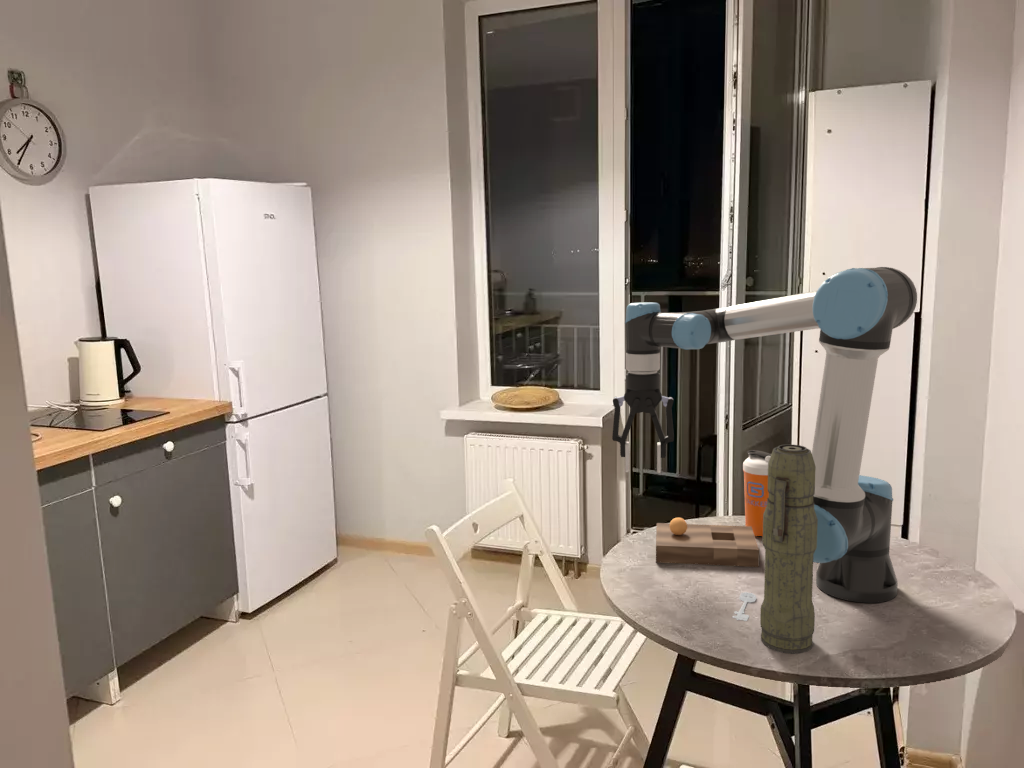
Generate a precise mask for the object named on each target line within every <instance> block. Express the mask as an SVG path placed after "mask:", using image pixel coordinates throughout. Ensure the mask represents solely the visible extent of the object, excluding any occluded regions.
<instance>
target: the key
mask: <svg viewBox="0 0 1024 768" xmlns="http://www.w3.org/2000/svg"><path fill="white" fill-rule="evenodd" d="M738 597H739V598H738V599H739V600H740V601H742V602H743V603H742V605H741V607H740V609H739V610H738V611H737V610H734V611H733V613H734V615H732V619H733V618H734V619H736V621H739V620H740V621H744V622H747V621H748V620H749V618H750V615H748V614H745V608H746V606H747V604H748V603H754V602H756V600H757V595H756V594H755V593H753V592H748V591H744V592H740V594H739V596H738ZM735 614H736V615H735Z"/></svg>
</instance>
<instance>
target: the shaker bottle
mask: <svg viewBox="0 0 1024 768" xmlns="http://www.w3.org/2000/svg"><path fill="white" fill-rule="evenodd" d="M746 453H747V454H748V457H747V458H746V459H745V460H744V461H743V463H742V471H743V481H744V482H743V483H744V486H743V487H744V488H743V489H744V491H743V493H744V517H745V519H744V520H745V521H744V522H745V524H744V526H752V529H753V533H754V536H755V537H757V536H762V537H761V538H763V514H764V511H765V509H766V506H767V498H768V497H769V492H768V463H769V459H770V457H771V454H772V453H769V452H766V451H762V450H754V449H753V450H751V449H750V450H747V451H746Z"/></svg>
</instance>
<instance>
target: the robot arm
mask: <svg viewBox="0 0 1024 768" xmlns="http://www.w3.org/2000/svg"><path fill="white" fill-rule="evenodd" d="M917 303H918V292H917V287H916V286H915V283H914V281H913V280H912V279H911V278H910V277H909V276H908V275H907V274H906V273H905V272H903V271H901V270H900V269H896V268H893V267H888V266H879V267H864V268H863V267H859V268H857V267H852V268H848V269H845V270H842V271H839V272H836V273H834V274H832V275H831V276H829V277H828V278H826V279H825V280H824V281H822V283H821V284H820V285H819V287H818V288H817V290H814V291H813V290H812V291H808V292H807V291H806V292H801V293H796V294H791V295H786V296H780V297H773V298H769V299H763V300H757V301H753V302H747V303H741V304H735V305H731V306H724V307H718V308H713V309H712V308H711V309H706V310H697V311H696V310H695V311H685V312H662V311H661V305H660V303H659V302H650V301H649V302H647V301H645V302H643V301H642V302H631V303H629V304H628V305H627V306H626V311H625V322H624V324H625V341H626V342H625V343H626V347H625V348H626V349H625V351H626V352H625V369H626V371H628V372H627V373H626V374H625V393H624V395H622V396H621V395H620V396H614V397H613V399H612V404H613V408H614V413H613V415H614V416H613V426H612V435H611V436H612V441H614V442H618V443H619V447H620V449H619V451H620V454H619V455H620V458H625V460H624V461H625V462H624V463H625V464H624V465H625V471H624V472H625V473H629V472H630V441H627V439H628V437H629V432H630V430H631V427H632V424H633V421H634V419H635V416H636V414H641V413H644V414H645V413H646V414H650V415H649V416H650V418H651V419H652V423H653V425H654V428H655V431H656V434H657V437H658V439H659V442H657V443H656V444H657V445H656V451H657V452H656V458H657V459H656V463H657V464H656V472H657V474H661V467H662V466H661V459H666V456H667V454H666V453H667V444H668V443H672V442H674V441H675V434H674V424H673V409H672V408H673V405H674V398H673V397H672V396H669V397H668V396H665V395H663V394H662V393H661V373H659V372H658V371H659V370H661V369H660V368H661V348H662V347H664V348H671V349H682V350H686V351H689V350H700V349H701V350H702V349H703V348H704V347H705V346H706V345H711V344H719V343H726V342H730V341H732V342H733V341H736V340H743V339H751V338H757V337H765V336H766V337H767V336H772V335H780V334H786V333H787V334H788V333H794V332H803V331H809V330H818V329H819V330H820V331H819V339H818V343H819V344H820V345H821V346H822V347H823V349H824V350H825V360H824V369H823V374H822V381H821V388H820V394H819V401H818V409H817V416H816V421H815V429H814V436H813V442H812V449H811V453H812V456H813V459H814V463H815V466H816V470H815V494H814V495H813V500H814V510H815V513H816V516H817V519H818V525H817V548H816V550H815V552H814V554H813V563H816V564H818V567H817V569H816V574H815V585H816V586H817V587H818V589H819V590H821V591H822V592H823V593H826V594H827V595H829V596H832V597H834V598H838V599H841V600H845V601H850V602H855V603H865V604H870V603H871V604H873V603H874V604H876V603H885V602H888V601H891V600H893V599H894V598H896V597H897V594H898V588H899V587H898V578H897V575H896V573H895V570H894V566H893V563H892V559H891V556H890V549H891V548H890V546H891V533H892V532H891V531H892V517H893V516H892V514H893V513H892V512H893V502H894V498H893V488H892V485H891V484H890V483H889V482H888V481H886V480H884V479H880V478H878V477H877V478H876V477H873V476H867V475H862V474H861V475H860V472H861V467H862V461H863V455H864V450H865V449H864V448H865V441H866V435H867V429H868V424H869V417H870V411H871V405H872V398H873V393H874V392H873V391H874V387H875V379H876V374H877V367H878V362H879V358H880V357H881V355H883V354H885V353H887V352H888V351H889V350H890V348H891V346H890V345H891V342H892V335H893V330H894V329H896V328H898V327H901V325H903V324H905V323H906V322H908V320H909V319H910V318H911V317H912V315H913V314H914V312H915V310H916V307H917V305H918V304H917ZM624 401H625V403H626V404H627V405H628V407H630V411H629V414H628V417H627V420H626V423H625V425H624V428H623V431H622V434H621V435H620V434H619V429H620V420H621V407H622V406H623V405H624ZM660 402H662V404H663V407H665V413H666V415H665V416H666V417H665V418H666V426H667V435H665V433H664V430H663V427H662V425H661V422H660V419H659V416H658V414H657V413H658V412H657V410H656V408H657V407H658V405H659V404H660Z"/></svg>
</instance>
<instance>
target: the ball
mask: <svg viewBox="0 0 1024 768" xmlns="http://www.w3.org/2000/svg"><path fill="white" fill-rule="evenodd" d="M669 523H670V530H671V532H672V533H673V534H675V535H682V534H684V533H685V532H686V530H687V524H688V523H687V522H686V520H685V519H684V518H683V517H675V518H672V520H670V522H669Z"/></svg>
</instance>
